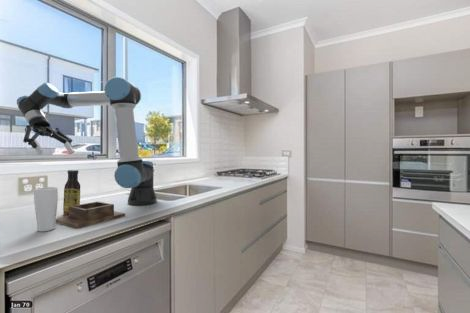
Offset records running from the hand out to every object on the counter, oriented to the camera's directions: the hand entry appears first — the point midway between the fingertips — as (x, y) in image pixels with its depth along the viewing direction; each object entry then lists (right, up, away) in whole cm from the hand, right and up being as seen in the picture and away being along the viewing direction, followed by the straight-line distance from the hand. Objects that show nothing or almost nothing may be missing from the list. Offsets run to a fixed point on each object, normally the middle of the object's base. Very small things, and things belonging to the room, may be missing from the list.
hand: (57, 152), depth 112 cm
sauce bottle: (+9, -28, -3) cm, 30 cm away
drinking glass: (+15, -29, -25) cm, 41 cm away
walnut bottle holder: (+23, -28, -11) cm, 38 cm away
